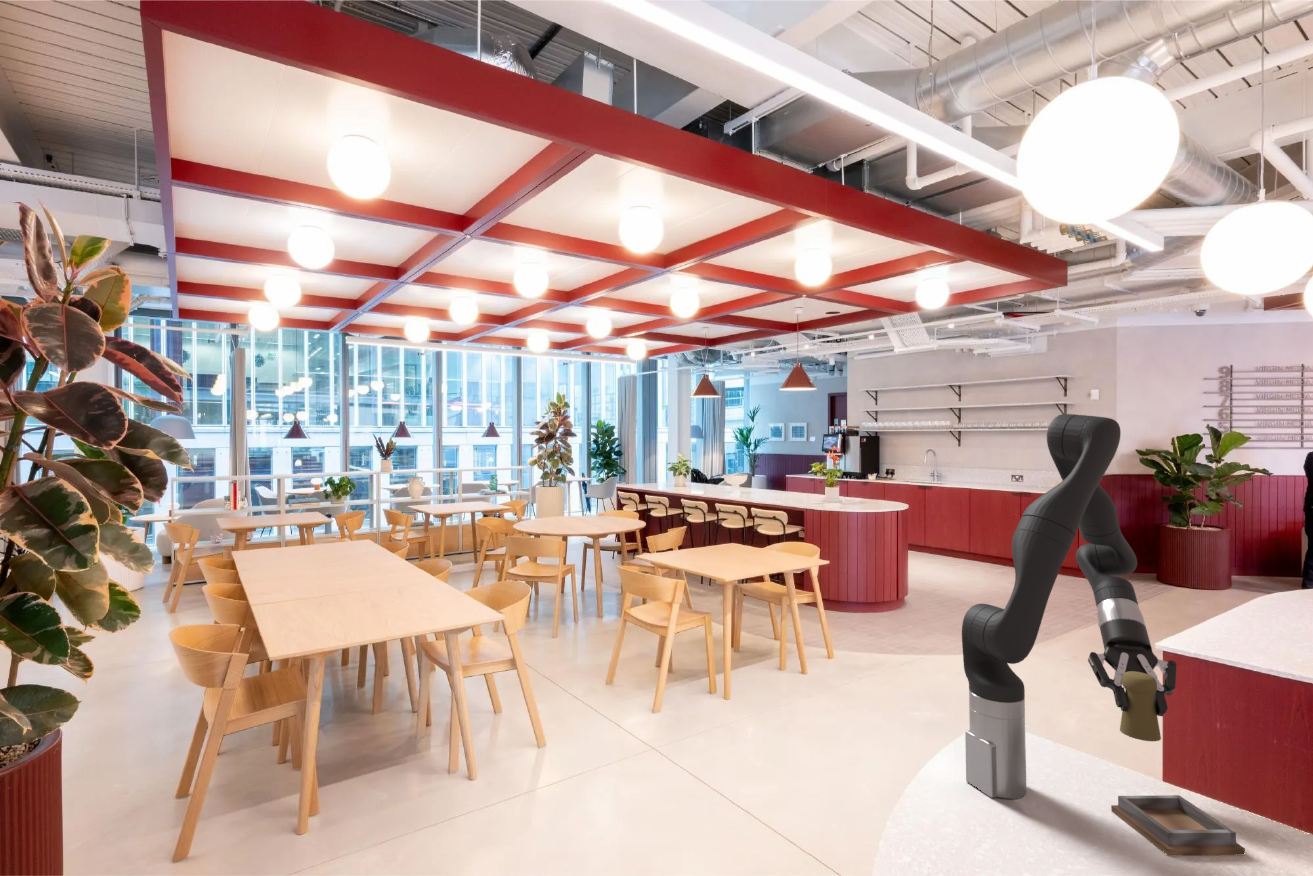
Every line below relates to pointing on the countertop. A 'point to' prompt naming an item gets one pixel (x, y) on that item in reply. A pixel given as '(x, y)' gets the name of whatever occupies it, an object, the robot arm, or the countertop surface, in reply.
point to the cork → (1140, 707)
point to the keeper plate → (1177, 825)
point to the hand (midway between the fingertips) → (1143, 711)
